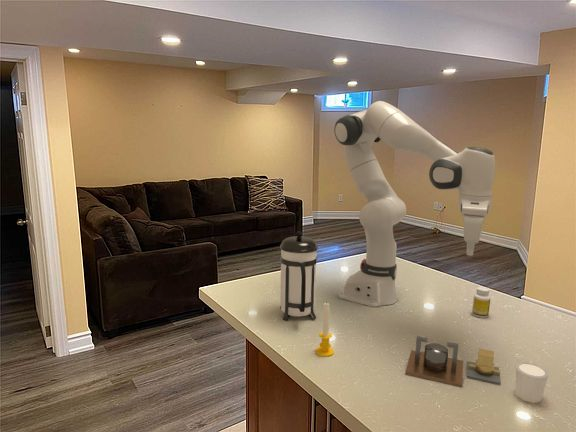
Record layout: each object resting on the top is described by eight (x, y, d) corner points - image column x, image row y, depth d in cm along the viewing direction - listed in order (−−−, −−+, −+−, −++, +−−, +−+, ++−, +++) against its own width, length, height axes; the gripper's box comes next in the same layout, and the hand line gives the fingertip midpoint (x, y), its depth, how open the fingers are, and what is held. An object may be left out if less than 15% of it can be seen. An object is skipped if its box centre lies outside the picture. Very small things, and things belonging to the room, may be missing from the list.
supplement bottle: (490, 319, 147) (493, 292, 145) (473, 317, 148) (476, 290, 146) (486, 312, 152) (489, 286, 150) (470, 311, 153) (473, 285, 151)
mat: (466, 377, 111) (466, 375, 111) (466, 362, 118) (467, 361, 118) (500, 385, 108) (500, 383, 108) (498, 369, 115) (498, 367, 115)
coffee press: (265, 315, 147) (265, 231, 141) (295, 302, 158) (297, 224, 153) (302, 331, 135) (305, 240, 129) (333, 316, 147) (336, 232, 141)
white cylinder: (506, 387, 107) (509, 362, 105) (532, 386, 107) (535, 361, 106) (523, 405, 100) (527, 378, 99) (551, 403, 101) (555, 377, 99)
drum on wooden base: (405, 374, 112) (407, 345, 110) (411, 353, 123) (413, 326, 121) (462, 387, 107) (465, 357, 105) (462, 363, 117) (465, 336, 116)
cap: (468, 372, 112) (470, 353, 111) (468, 364, 116) (470, 345, 115) (500, 379, 109) (502, 359, 108) (499, 370, 113) (501, 352, 112)
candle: (315, 347, 125) (317, 297, 122) (333, 348, 125) (335, 298, 122) (316, 356, 120) (317, 305, 117) (334, 357, 120) (336, 305, 117)
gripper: (463, 198, 132) (459, 241, 135) (461, 209, 113) (457, 258, 116) (485, 200, 130) (480, 244, 132) (487, 211, 111) (482, 261, 114)
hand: (469, 250), depth 124 cm, fingers open, 8 cm apart
